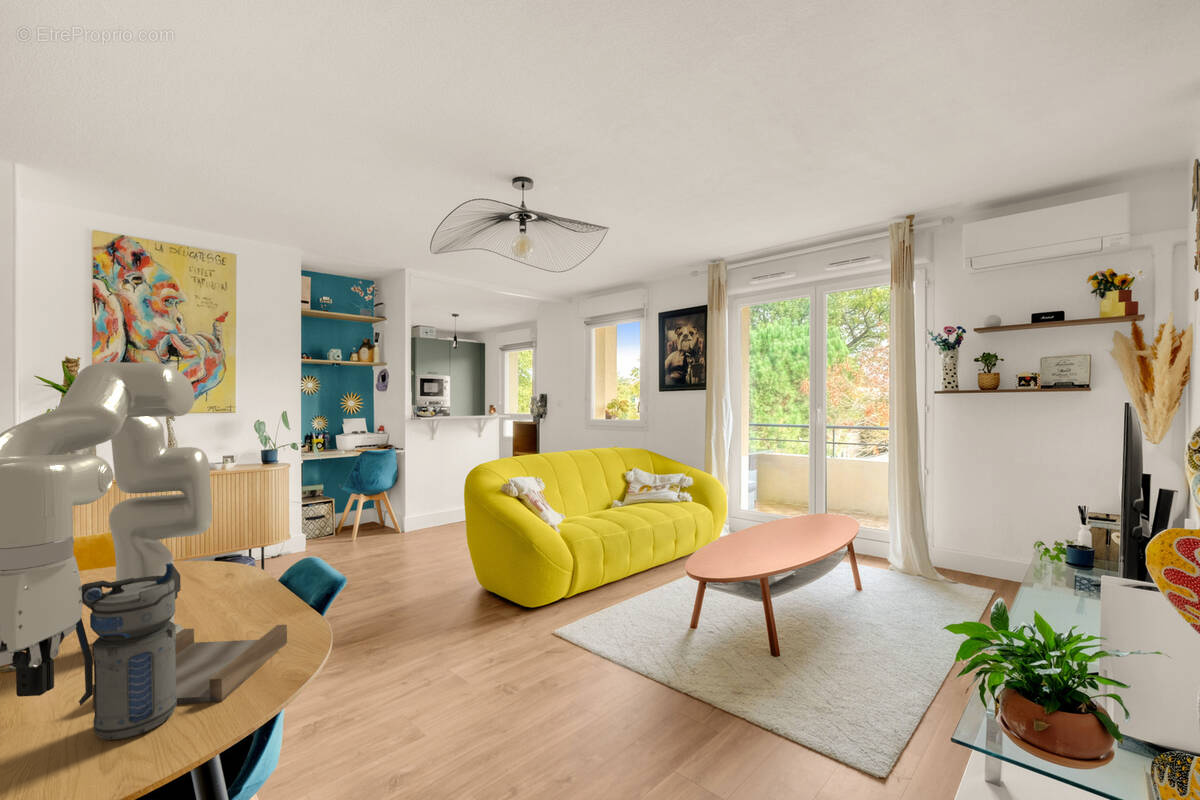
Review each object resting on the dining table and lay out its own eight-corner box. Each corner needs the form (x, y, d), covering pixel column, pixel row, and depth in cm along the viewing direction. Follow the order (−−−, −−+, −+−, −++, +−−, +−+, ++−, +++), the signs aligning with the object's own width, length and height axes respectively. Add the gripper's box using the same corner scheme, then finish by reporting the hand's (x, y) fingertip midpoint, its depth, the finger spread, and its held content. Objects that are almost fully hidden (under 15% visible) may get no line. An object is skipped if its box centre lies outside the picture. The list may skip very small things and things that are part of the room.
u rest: (93, 708, 90) (92, 685, 90) (184, 647, 112) (184, 628, 112) (222, 701, 92) (221, 678, 92) (287, 643, 114) (286, 624, 114)
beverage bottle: (69, 733, 83) (67, 575, 83) (175, 697, 93) (173, 556, 93) (74, 762, 77) (71, 591, 77) (188, 720, 87) (185, 568, 86)
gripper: (56, 540, 77) (58, 665, 77) (-65, 574, 62) (-62, 729, 62) (111, 538, 78) (113, 663, 78) (4, 572, 63) (7, 726, 63)
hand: (35, 692), depth 70 cm, fingers closed
